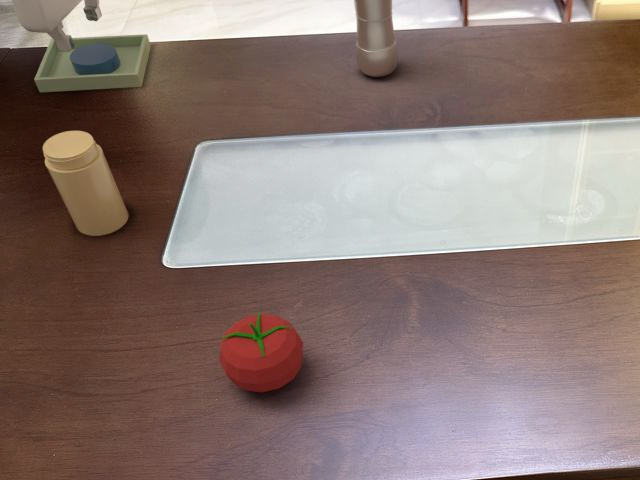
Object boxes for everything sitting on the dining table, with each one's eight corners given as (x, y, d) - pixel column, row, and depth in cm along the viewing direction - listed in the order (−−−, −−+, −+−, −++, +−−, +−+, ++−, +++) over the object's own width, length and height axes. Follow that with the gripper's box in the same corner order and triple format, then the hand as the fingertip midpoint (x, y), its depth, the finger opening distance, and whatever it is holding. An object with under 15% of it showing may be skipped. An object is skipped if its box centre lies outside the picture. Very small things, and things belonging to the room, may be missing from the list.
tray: (39, 92, 105) (33, 79, 103) (56, 51, 112) (50, 38, 111) (141, 86, 106) (137, 74, 105) (151, 46, 114) (147, 34, 113)
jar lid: (130, 60, 110) (126, 48, 109) (101, 81, 106) (96, 68, 105) (94, 51, 112) (90, 39, 110) (64, 71, 108) (59, 59, 106)
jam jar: (72, 238, 85) (34, 162, 77) (79, 206, 88) (43, 131, 80) (126, 232, 86) (93, 156, 77) (130, 201, 89) (99, 125, 81)
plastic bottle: (405, 64, 113) (399, -76, 98) (390, 85, 109) (382, -57, 93) (366, 57, 114) (355, -82, 99) (350, 78, 110) (336, -64, 94)
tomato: (233, 346, 75) (216, 294, 69) (309, 342, 75) (298, 290, 69) (224, 409, 70) (204, 359, 64) (306, 404, 70) (294, 354, 64)
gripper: (29, -35, 88) (71, 71, 99) (99, -95, 101) (129, 4, 112) (-21, -39, 88) (26, 67, 99) (55, -99, 102) (89, 1, 112)
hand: (81, 33), depth 106 cm, fingers open, 8 cm apart
